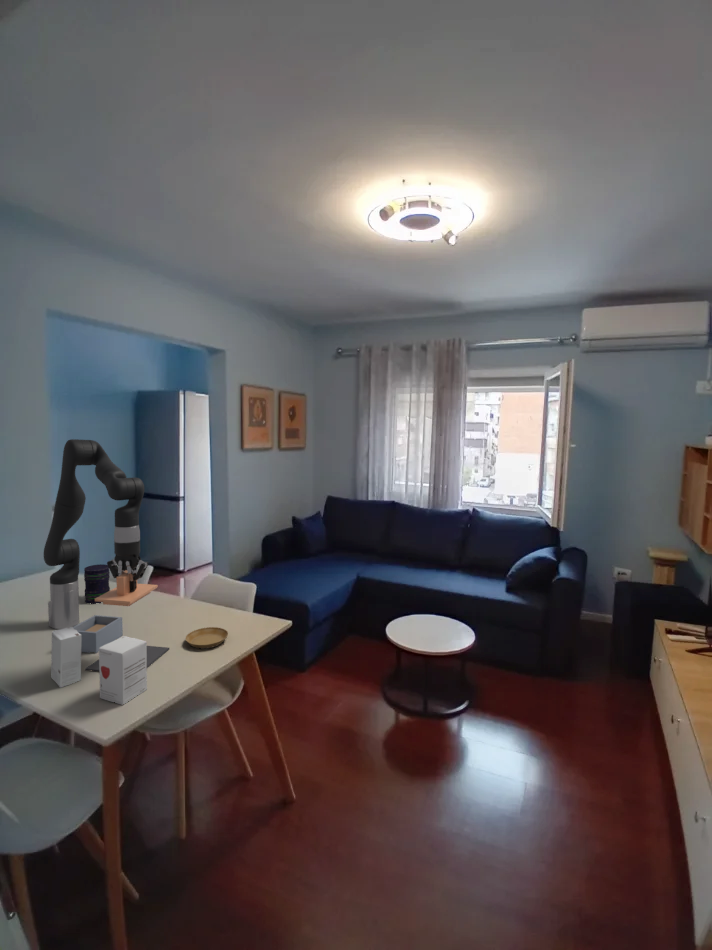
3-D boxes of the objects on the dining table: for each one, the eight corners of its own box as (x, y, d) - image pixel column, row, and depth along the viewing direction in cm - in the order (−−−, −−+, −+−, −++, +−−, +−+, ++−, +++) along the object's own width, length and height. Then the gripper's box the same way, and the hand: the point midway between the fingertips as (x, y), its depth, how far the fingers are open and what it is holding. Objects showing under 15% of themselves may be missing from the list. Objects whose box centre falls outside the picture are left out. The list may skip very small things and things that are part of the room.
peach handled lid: (130, 608, 142) (129, 582, 141) (95, 605, 144) (93, 580, 143) (157, 591, 157) (157, 567, 156) (125, 589, 159) (124, 565, 158)
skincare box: (50, 678, 140) (49, 631, 138) (73, 671, 144) (71, 625, 143) (60, 688, 134) (59, 639, 133) (83, 680, 139) (81, 633, 138)
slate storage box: (96, 653, 156) (95, 633, 156) (67, 650, 158) (66, 630, 157) (122, 635, 170) (122, 617, 169) (95, 633, 171) (95, 615, 171)
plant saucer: (206, 655, 157) (206, 648, 157) (176, 645, 164) (176, 638, 164) (236, 639, 170) (236, 632, 169) (207, 630, 177) (207, 624, 176)
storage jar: (103, 594, 212) (102, 563, 211) (114, 599, 206) (113, 567, 205) (80, 600, 204) (79, 567, 203) (91, 606, 198) (90, 572, 197)
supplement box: (98, 698, 130) (97, 647, 128) (124, 683, 138) (123, 634, 137) (122, 706, 126) (121, 653, 125) (148, 689, 135) (147, 640, 134)
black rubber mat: (85, 670, 145) (85, 668, 145) (121, 645, 163) (121, 643, 162) (138, 675, 142) (138, 673, 142) (169, 649, 160) (169, 647, 160)
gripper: (99, 540, 146) (100, 593, 148) (140, 543, 145) (141, 596, 146) (115, 535, 154) (116, 586, 155) (153, 537, 152) (154, 589, 153)
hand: (128, 591), depth 151 cm, fingers closed on peach handled lid, 2 cm apart
